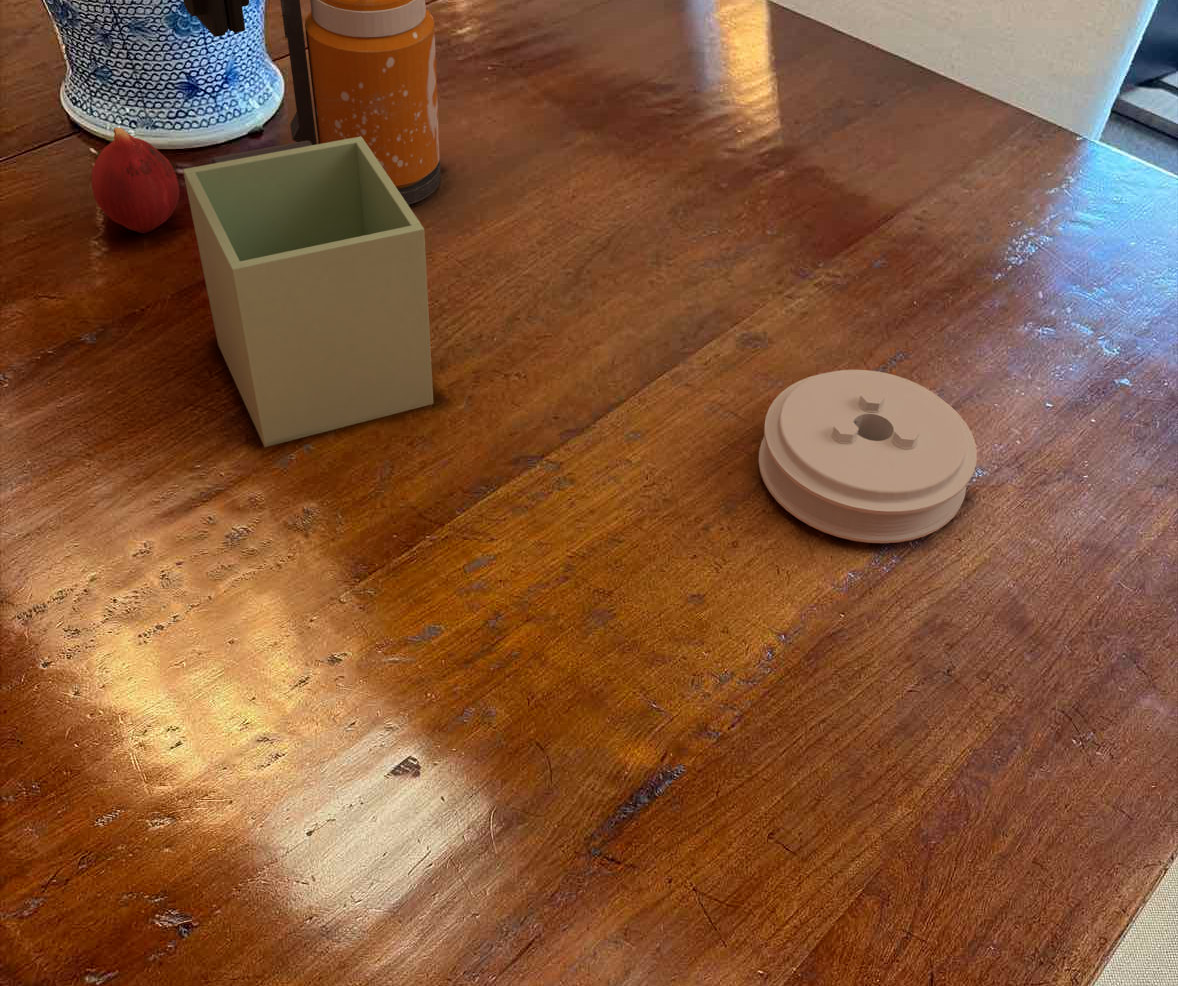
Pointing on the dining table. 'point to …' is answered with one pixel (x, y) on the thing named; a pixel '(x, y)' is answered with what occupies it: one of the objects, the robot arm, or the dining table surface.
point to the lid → (866, 456)
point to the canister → (369, 83)
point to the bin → (314, 285)
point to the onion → (134, 183)
